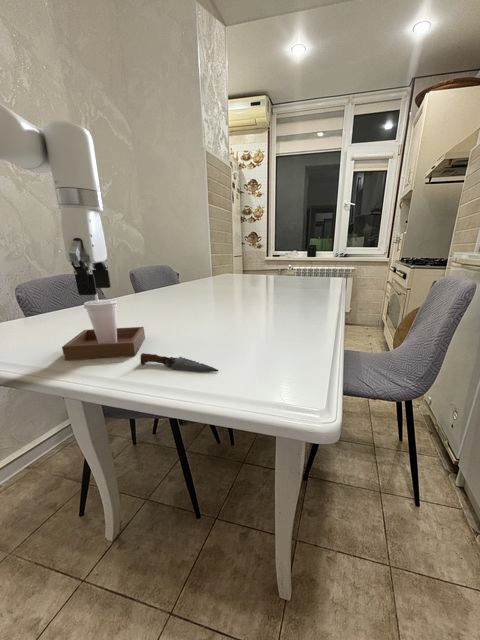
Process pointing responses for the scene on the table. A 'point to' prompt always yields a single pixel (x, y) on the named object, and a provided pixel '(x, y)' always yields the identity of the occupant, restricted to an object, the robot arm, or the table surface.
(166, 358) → the knife
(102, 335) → the smoothie
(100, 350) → the tray
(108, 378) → the table surface
